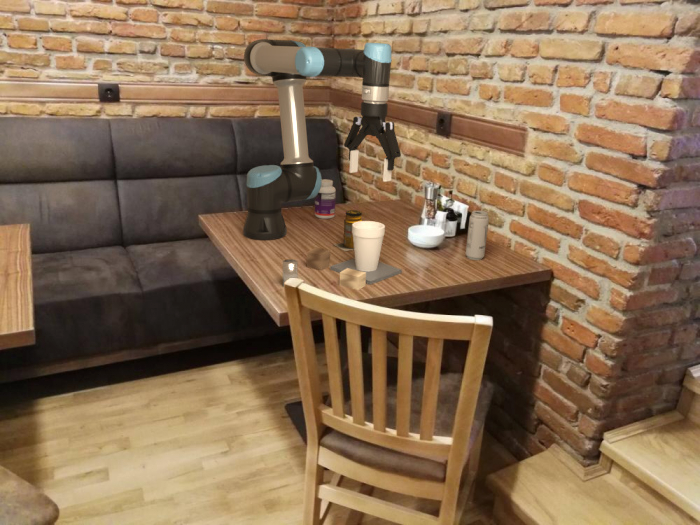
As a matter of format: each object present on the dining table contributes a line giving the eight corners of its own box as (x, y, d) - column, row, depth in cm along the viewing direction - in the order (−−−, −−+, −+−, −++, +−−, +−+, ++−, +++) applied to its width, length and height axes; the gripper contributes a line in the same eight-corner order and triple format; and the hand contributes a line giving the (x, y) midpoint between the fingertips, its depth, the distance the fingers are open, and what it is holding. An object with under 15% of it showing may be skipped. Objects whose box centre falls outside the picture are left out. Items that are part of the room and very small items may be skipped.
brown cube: (306, 267, 166) (307, 251, 164) (315, 262, 170) (316, 247, 169) (321, 270, 164) (321, 254, 162) (329, 266, 168) (330, 250, 166)
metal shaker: (279, 285, 152) (279, 261, 150) (291, 281, 155) (291, 258, 152) (289, 289, 150) (289, 265, 147) (300, 286, 152) (300, 262, 150)
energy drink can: (482, 261, 176) (488, 216, 171) (463, 259, 178) (468, 213, 173) (485, 256, 182) (490, 211, 177) (466, 253, 184) (471, 209, 178)
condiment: (366, 247, 185) (368, 213, 181) (345, 251, 181) (346, 216, 177) (354, 241, 191) (355, 207, 187) (333, 245, 187) (334, 210, 183)
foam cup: (367, 275, 159) (369, 232, 154) (344, 267, 164) (345, 224, 160) (388, 267, 165) (391, 225, 161) (365, 259, 171) (367, 219, 167)
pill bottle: (314, 214, 223) (314, 178, 218) (334, 214, 224) (335, 178, 219) (315, 219, 215) (315, 182, 210) (335, 219, 216) (336, 183, 211)
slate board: (330, 269, 165) (330, 266, 165) (361, 258, 175) (362, 255, 175) (370, 284, 155) (370, 281, 155) (401, 272, 165) (401, 269, 164)
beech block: (339, 285, 154) (339, 272, 153) (346, 281, 157) (347, 268, 156) (358, 290, 151) (358, 276, 150) (365, 285, 154) (366, 272, 153)
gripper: (334, 97, 161) (331, 170, 169) (399, 107, 145) (393, 186, 153) (352, 97, 166) (349, 167, 174) (417, 106, 150) (410, 183, 158)
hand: (369, 176), depth 164 cm, fingers open, 13 cm apart
